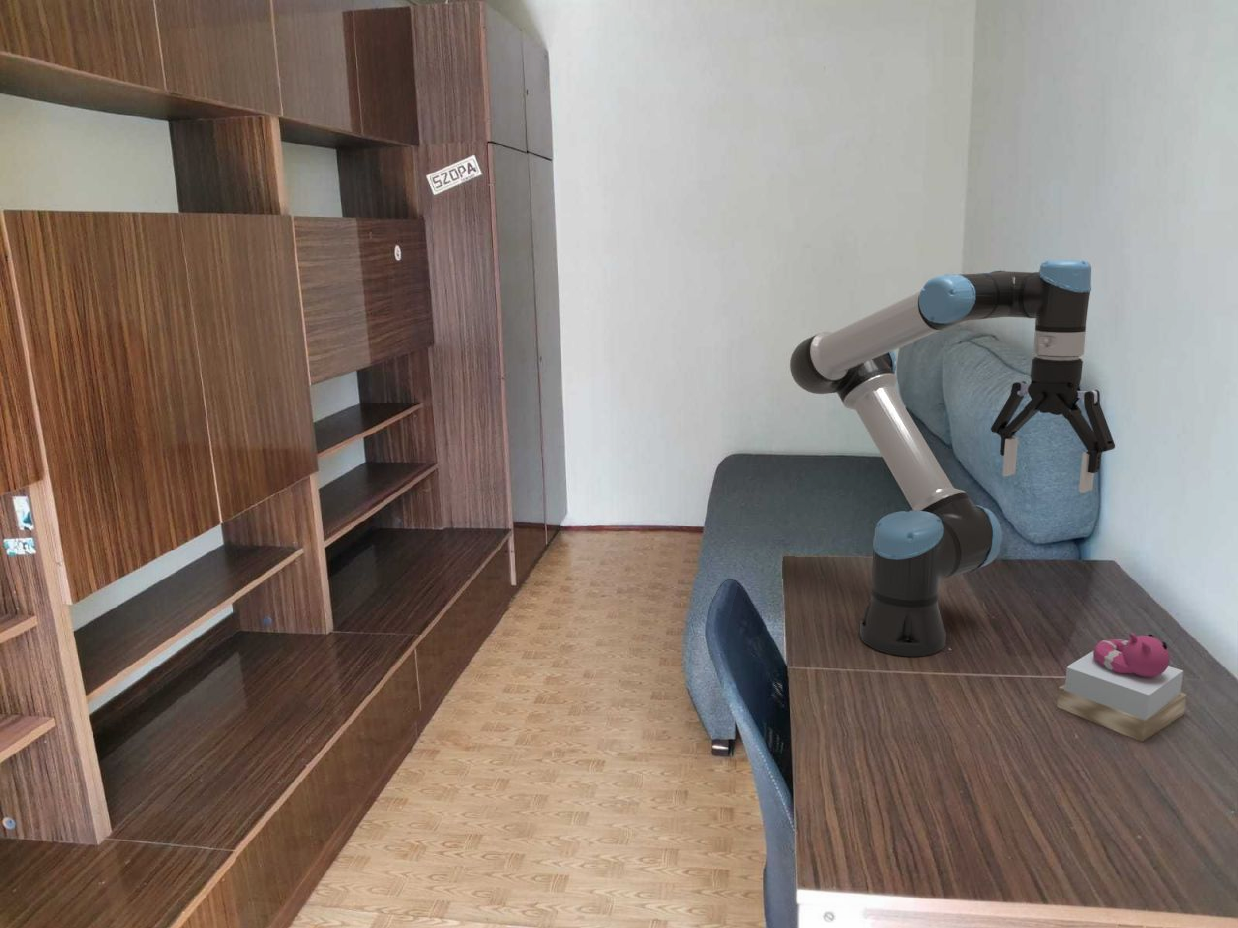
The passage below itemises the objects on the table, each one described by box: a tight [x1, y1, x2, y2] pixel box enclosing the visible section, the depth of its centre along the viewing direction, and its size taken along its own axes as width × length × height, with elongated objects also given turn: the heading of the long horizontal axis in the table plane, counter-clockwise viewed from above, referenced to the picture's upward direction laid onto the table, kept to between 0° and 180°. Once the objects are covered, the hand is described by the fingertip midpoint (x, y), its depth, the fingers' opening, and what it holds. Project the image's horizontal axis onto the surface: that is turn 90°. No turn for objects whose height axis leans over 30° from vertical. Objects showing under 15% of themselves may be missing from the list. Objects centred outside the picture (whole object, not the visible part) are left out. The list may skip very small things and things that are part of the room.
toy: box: [1093, 632, 1170, 677], centre depth 140 cm, size 11×9×10 cm
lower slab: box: [1056, 684, 1187, 743], centre depth 142 cm, size 13×13×4 cm
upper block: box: [1064, 650, 1184, 720], centre depth 141 cm, size 12×12×4 cm
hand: (1045, 482), depth 154 cm, fingers open, 13 cm apart
